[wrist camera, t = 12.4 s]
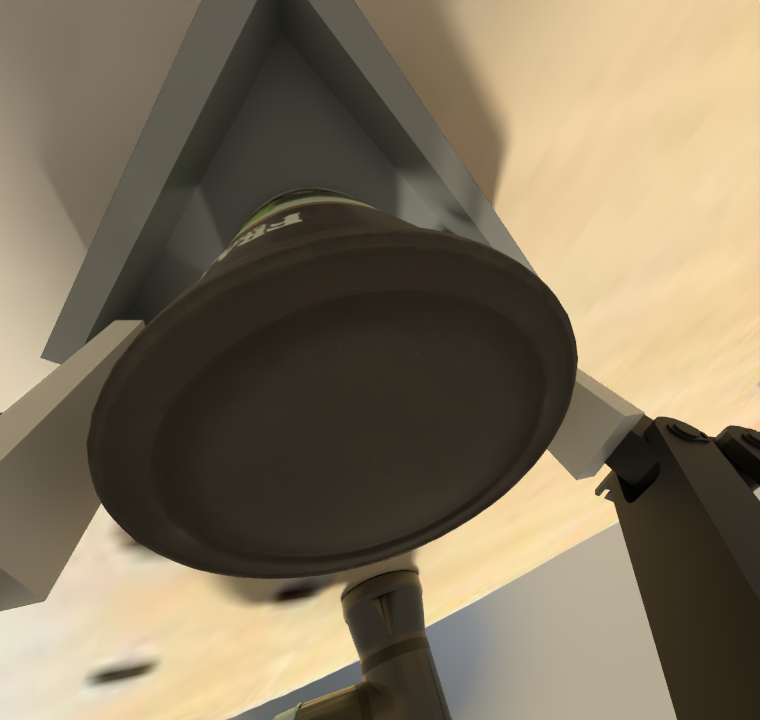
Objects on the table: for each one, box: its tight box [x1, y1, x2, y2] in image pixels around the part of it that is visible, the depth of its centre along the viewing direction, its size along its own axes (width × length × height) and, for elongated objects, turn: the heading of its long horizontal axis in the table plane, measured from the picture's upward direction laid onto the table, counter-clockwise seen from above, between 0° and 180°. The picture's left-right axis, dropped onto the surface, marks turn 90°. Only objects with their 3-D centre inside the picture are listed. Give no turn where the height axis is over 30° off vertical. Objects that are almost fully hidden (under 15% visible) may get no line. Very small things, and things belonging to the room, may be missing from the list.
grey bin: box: [40, 0, 538, 365], centre depth 16 cm, size 17×17×6 cm
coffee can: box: [86, 187, 578, 579], centre depth 12 cm, size 10×10×14 cm
